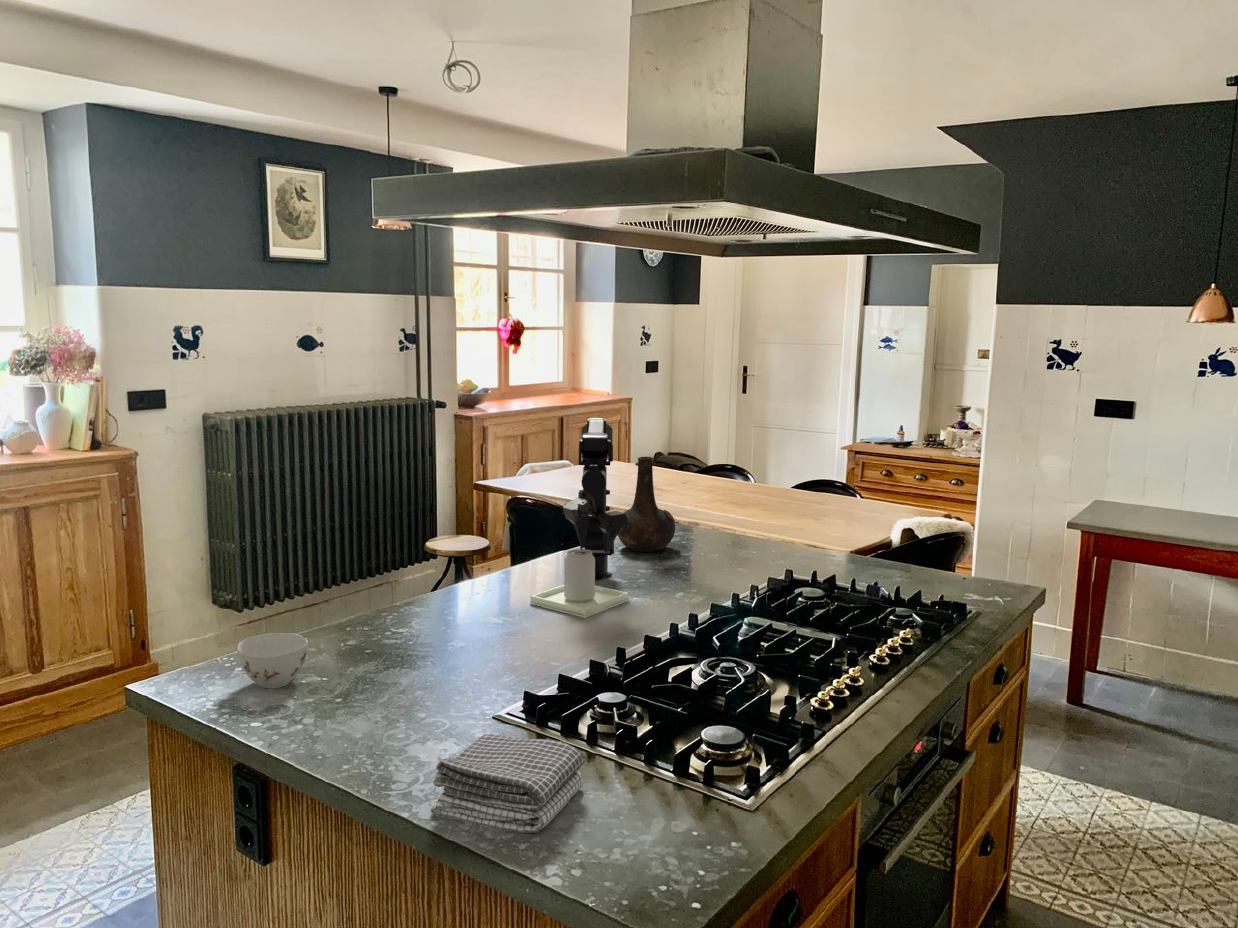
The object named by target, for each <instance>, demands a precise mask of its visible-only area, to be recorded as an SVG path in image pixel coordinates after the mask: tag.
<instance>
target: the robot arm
mask: <svg viewBox="0 0 1238 928" xmlns="http://www.w3.org/2000/svg"><path fill="white" fill-rule="evenodd" d="M586 422H587V423H586V424H584V426H583V427H581V430H580V431H581V435H580V436H581V437H580V439H578V440H579V442H578V466H583V467H582V477H581V486H582V489H580V490H578V491H579V492H578V496H577V497H575V498H574V499H572V500H571V501H568V502H567V503H565V504H564V505H562V507H561V510H562V512H561V513H562V514H561V515H562V516H565V519H566V520H568V521H569V522H570V523H572V525H573V528H574V530H575V534H576V536H577V539H578V543H579V545H580V546H579V549H586V550H590V551H592V555H593V556H594V557H595V581H598V580H602V579H604V578H608V577H611V576H613V573H612V572H608V571H609V570H608V564H609V562H608V560H609V559H608V558H609V557H608V556H610V557H612V555H615V540H616V538H617V537H618V535H617V534H618V533H619V531H620V530H621V528H622V527H624V526H625V525H628V516H627V514H626V513H624V511H623V512H622V511H618V510H613V511H611V510H610V509H611V507H610V506H608V505H607V495H611V490H609V489H607V473H608V472H607V471H608V470H607V466H611V463H612V462H613V461H614V444H613V439H614V438H613V435H614V434H613V433H614V431H613V427H611V426H610V425H609V424H608V423H607V419H605V418H603V417H590V418H587V421H586Z"/></svg>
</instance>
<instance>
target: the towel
mask: <svg viewBox="0 0 1238 928" xmlns="http://www.w3.org/2000/svg"><path fill="white" fill-rule="evenodd" d="M585 760H586V759H585V757H584V756H583V754H582V752H581V751H580V750H579V749H578V748H576V747H574V746H573V745H571V744H568V743H566V742H564V741H560V740H557V739H556V740H553V739H547V738H546V739H545V738H541V739H540V738H517V737H516V738H514V737H510V736H509V737H508V736H502V735H494V734H492V733H491V734H489V733H486V734H483V735H482V736H481V737H478V739H477V740H475V741H474V742H473V743H471V745H469V746H468V747H466V749H463V751H462V752H460V754H458V755H457V756H456V757H454V758H453V757H448V758H442V759H439V761H438V763H437V764H436V771H437V773H436V775H435V779H434V780H433V782H432V784H433V785H434V786H435V787H437V788H440V787H444V788H443V789H442V790H443V791H442V792H441V793H440V794H439V795H438V796H437V798H436V799H435V801H433V804H432V805H431V808H430V813H431V814H432V815H433V816H436V817H442V818H448V819H452V820H457V821H461V822H466V823H469V824H475V825H479V826H484V827H489V828H495V829H500V830H506V831H511V832H517V833H520V834H525V833H528V834H529V833H530V834H531V833H537V832H538V833H539V832H540V831H541V830H542V829H543V828H545V827H546V826H548V824H549V823H550V822H551V821H552V820H553V819H554V818H555V817H556V815H557V814H559V812H561V811H562V810H563V808H564V807H565V806H566V805H568V804H567V803H568V802H569V801H570V800H571V798H572V797H573V796H575V795H576V794H577V793H578V792H579V791H580V789H581V788H582V787H583V785H584V780H583V778H582V773H581V772H580V771H579V769H580V768H581V767H582V766H583V765H584V763H585Z"/></svg>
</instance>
